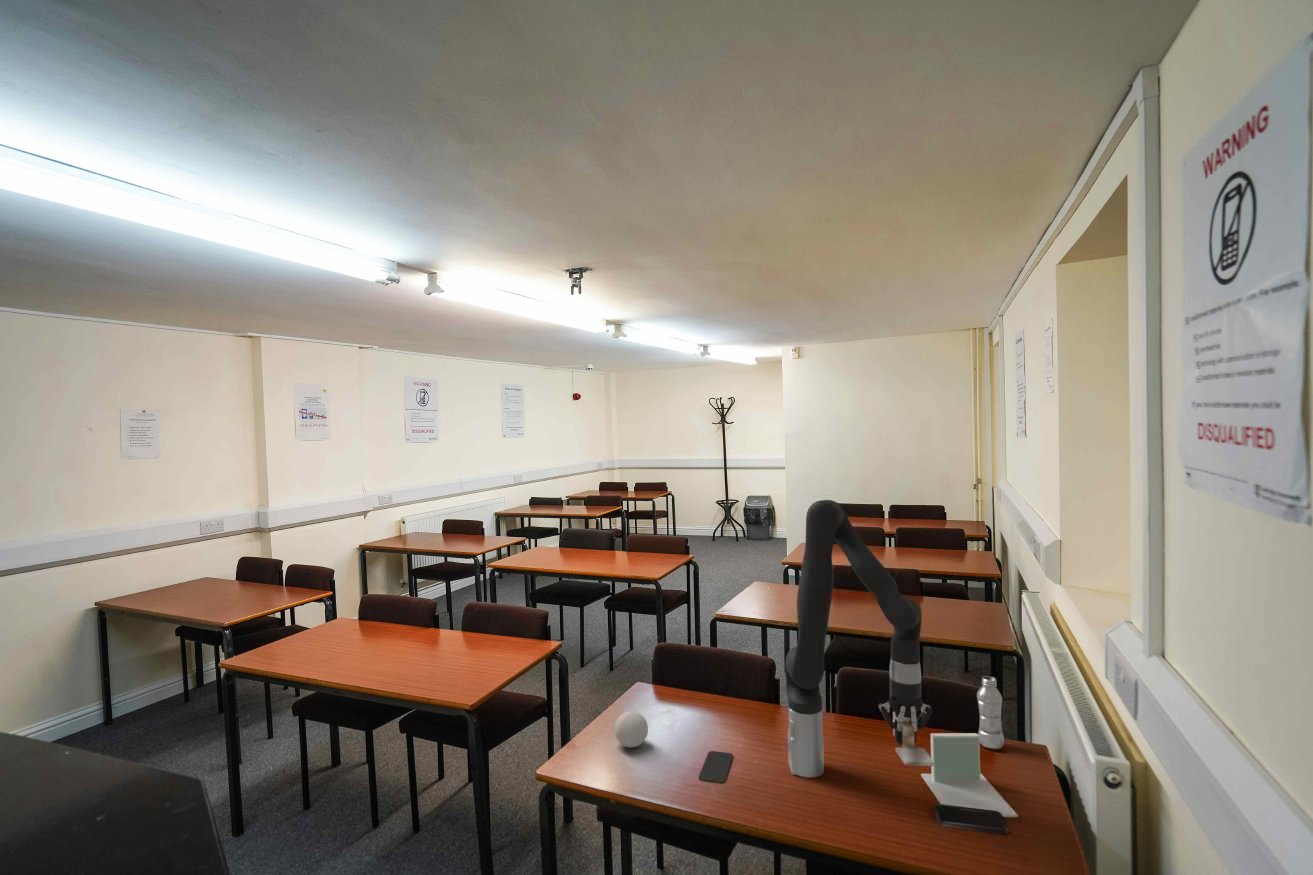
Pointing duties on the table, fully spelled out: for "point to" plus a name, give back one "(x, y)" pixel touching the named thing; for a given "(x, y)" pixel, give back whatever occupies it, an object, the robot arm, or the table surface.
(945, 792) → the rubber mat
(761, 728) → the table surface
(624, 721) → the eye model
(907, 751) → the scraper
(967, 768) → the tile
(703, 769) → the phone
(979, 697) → the plastic bottle
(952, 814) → the phone
